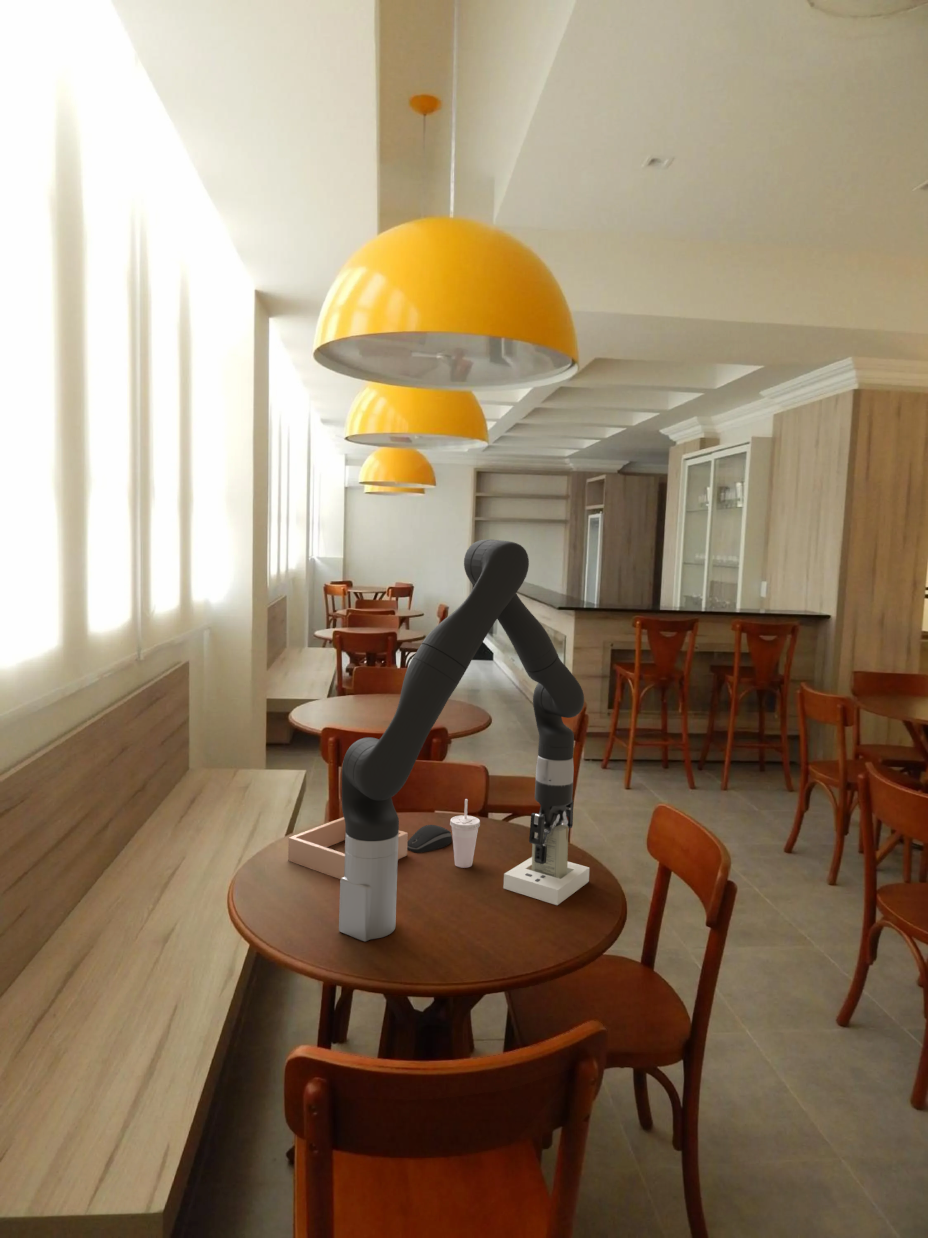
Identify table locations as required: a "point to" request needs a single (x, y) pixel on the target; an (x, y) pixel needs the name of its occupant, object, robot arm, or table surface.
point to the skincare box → (554, 854)
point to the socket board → (545, 882)
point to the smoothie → (464, 838)
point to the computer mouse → (429, 839)
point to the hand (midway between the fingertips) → (550, 856)
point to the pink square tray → (318, 857)
